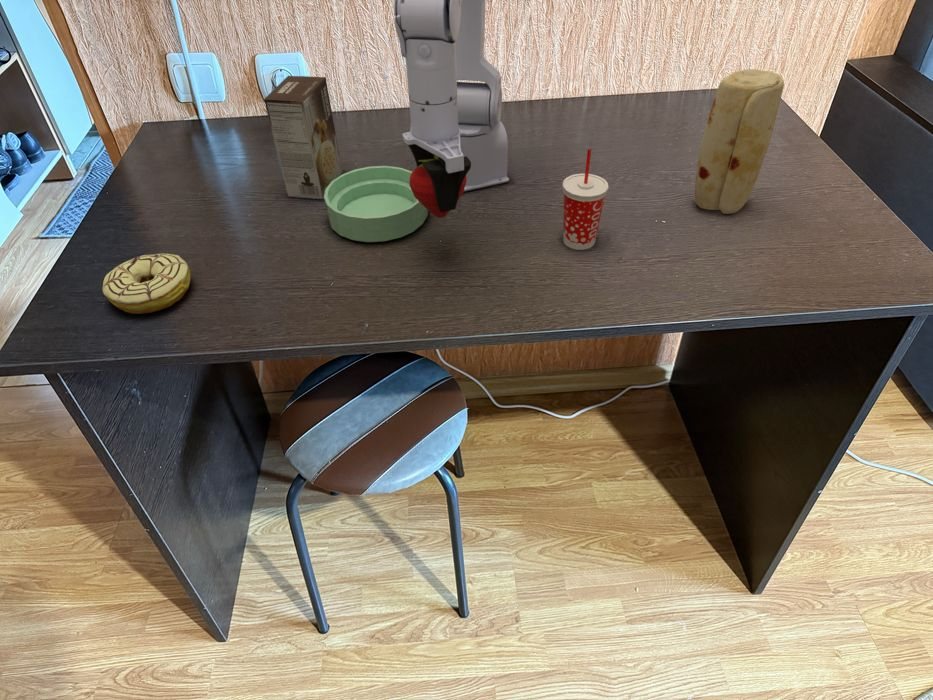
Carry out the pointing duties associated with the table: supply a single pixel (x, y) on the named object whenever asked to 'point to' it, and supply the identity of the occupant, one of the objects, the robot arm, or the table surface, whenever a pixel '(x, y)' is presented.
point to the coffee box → (304, 135)
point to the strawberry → (427, 189)
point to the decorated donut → (147, 283)
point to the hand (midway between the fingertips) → (439, 197)
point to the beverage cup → (582, 207)
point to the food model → (737, 139)
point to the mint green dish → (373, 204)
